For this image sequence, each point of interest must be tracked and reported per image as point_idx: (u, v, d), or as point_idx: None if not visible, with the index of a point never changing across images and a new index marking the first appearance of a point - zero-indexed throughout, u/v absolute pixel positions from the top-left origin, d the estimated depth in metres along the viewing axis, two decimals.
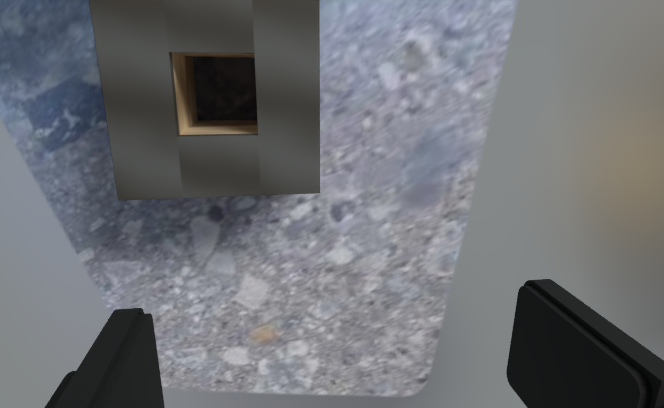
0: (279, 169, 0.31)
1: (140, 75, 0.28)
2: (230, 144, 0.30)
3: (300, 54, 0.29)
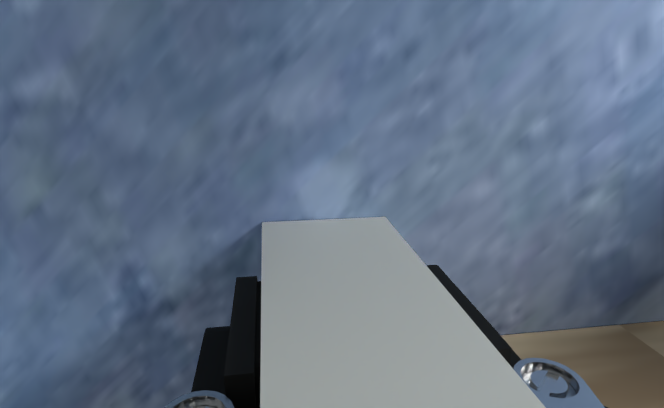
0: None
1: None
2: None
3: None
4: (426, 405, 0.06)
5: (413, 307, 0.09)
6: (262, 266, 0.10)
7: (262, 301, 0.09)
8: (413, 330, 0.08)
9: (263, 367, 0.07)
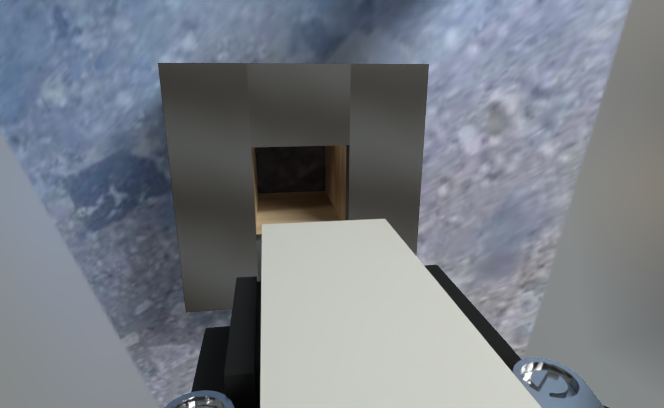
0: None
1: (217, 174, 0.23)
2: None
3: (402, 145, 0.24)
4: None
5: (413, 311, 0.09)
6: (262, 269, 0.10)
7: (262, 304, 0.09)
8: (412, 333, 0.08)
9: (263, 371, 0.07)
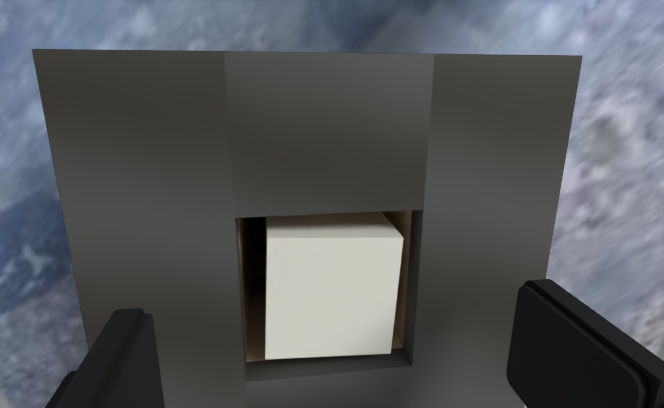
0: None
1: (168, 270, 0.12)
2: (355, 386, 0.14)
3: (519, 207, 0.13)
4: (338, 217, 0.14)
5: None
6: None
7: None
8: None
9: None
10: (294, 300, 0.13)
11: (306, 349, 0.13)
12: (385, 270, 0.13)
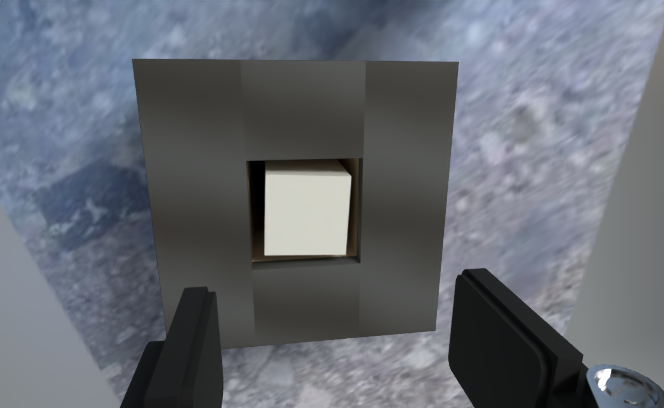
0: (385, 304, 0.23)
1: (205, 193, 0.19)
2: (322, 276, 0.22)
3: (425, 157, 0.21)
4: (312, 167, 0.22)
5: None
6: None
7: None
8: (316, 160, 0.24)
9: (266, 161, 0.22)
10: (283, 216, 0.20)
11: (291, 249, 0.21)
12: (340, 198, 0.21)
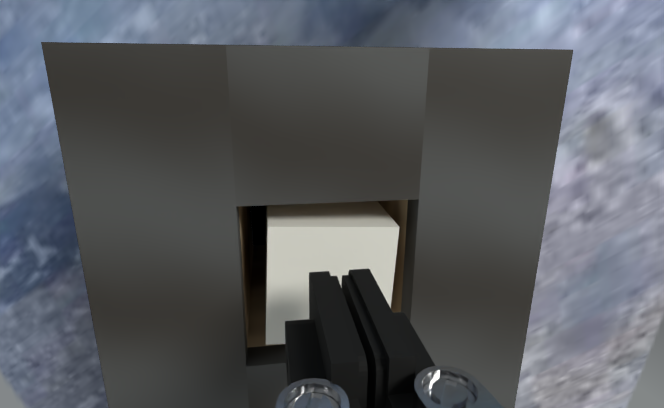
0: None
1: (172, 257, 0.12)
2: None
3: (511, 197, 0.13)
4: (336, 208, 0.15)
5: None
6: None
7: None
8: None
9: None
10: (294, 287, 0.13)
11: None
12: (381, 259, 0.13)
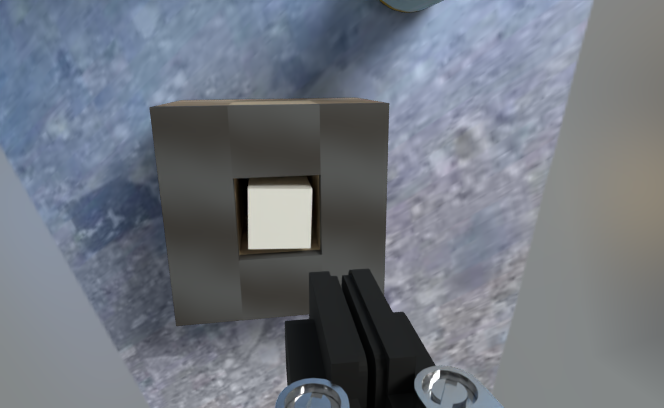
0: None
1: (203, 202, 0.26)
2: (293, 265, 0.28)
3: (367, 173, 0.27)
4: (284, 182, 0.29)
5: None
6: None
7: None
8: (289, 176, 0.30)
9: (249, 178, 0.29)
10: (261, 219, 0.27)
11: (268, 244, 0.28)
12: (304, 205, 0.27)
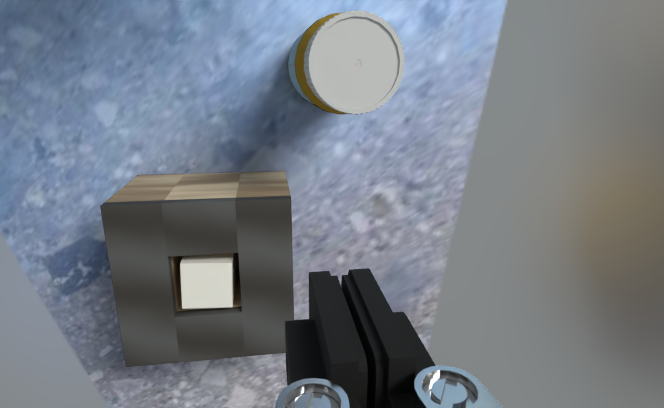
0: (260, 336, 0.37)
1: (144, 274, 0.34)
2: (219, 320, 0.36)
3: (276, 251, 0.35)
4: (213, 254, 0.36)
5: None
6: None
7: None
8: None
9: None
10: (192, 286, 0.35)
11: (198, 305, 0.35)
12: (226, 275, 0.35)
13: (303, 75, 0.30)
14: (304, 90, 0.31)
